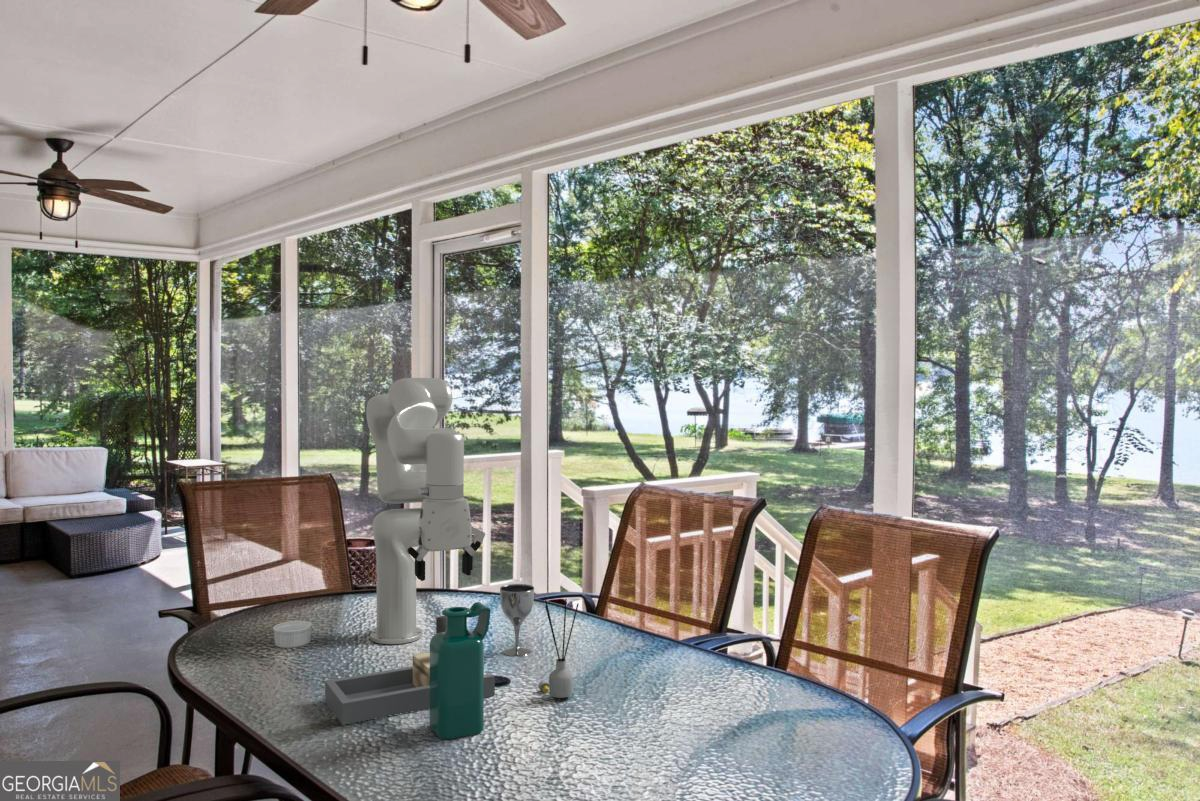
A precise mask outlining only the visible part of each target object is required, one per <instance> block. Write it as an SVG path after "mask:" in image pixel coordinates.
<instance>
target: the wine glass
mask: <svg viewBox="0 0 1200 801" xmlns="http://www.w3.org/2000/svg"><path fill="white" fill-rule="evenodd" d="M499 598H500V599H499V600H500V606H501V609H502V610H501V611H502V612H503V614H504V616H505V617H506V618H507V619H508V621H510V623H511V624H512V626H513V630H514V638H515V639H514V640H515V644H514V646H513V647H507V649H506V648H504V649H502V650H503V651H502V650H501V654H502V653H503V654H502V655H504V654H505V655H504V656H506V655H510V656H509V657H514V656H517V657H524V656H523V655H525V656H528V655H527V654H529V655H531V654H532V653H533V650H532V649H531V648H529V647H526V646H525V647H524V646H520V645H519V644H520V638H519V637H520V631H521V626H522V624H523V623H524V622H525V620H526V619H527V618H528V616H529V615H530V613H531V612H532V610H533V606H534V599H535V586H533V585H531V584H526V583H525V584H524V583H512V584H504V585H502V586H500V587H499ZM531 650H532V651H531ZM531 652H532V653H531ZM530 653H531V654H530Z"/></svg>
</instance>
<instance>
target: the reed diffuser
mask: <svg viewBox="0 0 1200 801" xmlns="http://www.w3.org/2000/svg"><path fill="white" fill-rule="evenodd" d="M567 601H568V600H567V598H565V600H564V617H563V634H562V636H563V637H562V639H563V640H562V654H561V656H562V658H560V655H559V649H558V645H557V641H556V636H555V633H554V631H555V630H554V629H553V628H554V627H553V623H552V619H551V615H550V614H551V613H550V610H549V607H548V606H549V605H548V601H547V597H546V596H544V602H545V606H544V608H545V610H546V615H547V618H548V623H549V627H550V632H551V635H552V637H553V638H552V639H553V642H554V646H555V650H556V654H557V659H556V660H555V661H556V662H555V663H556V665H555V667H556V668H555V669H554V670H552V671H551V672H550V674H549V675H548V680H542V681H541V682H539V684H538V689H539V691H541V692H542V693H543V694H547V693H549V696H551V697H553V698H558V699H559V698H561V699H562V698H568V697H570V696H572V695H573V683H574V681H573V680H574V679H573V678H574V677H573V674H572V672H571V671H570V670H569V669H567V668H566V667H567V666H566V665H567V664H566V661H567V660H566V655H567V652H568V647H569V644H570V641H571V635H572V631H573V628H574V624H575V620H576V616H577V613H578V608H579V603H577V604H576V607H575V612H574V616H573V620H572V624H571V628H570V631H569V636H568V639H567V644H566V647H565V639H566V638H565V635H566V621H567V620H566V617H567V616H566V615H567Z"/></svg>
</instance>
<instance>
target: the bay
mask: <svg viewBox="0 0 1200 801" xmlns="http://www.w3.org/2000/svg"><path fill="white" fill-rule="evenodd" d="M495 691H496V675H494V674H493V673H490V674H484V697H487V698H490V697H489V696H492V697H495V696H494V695H496V692H495ZM325 701H326V702H325ZM324 702H325V703H326V705H327V706H328V705H329V706H328V707H329V709H330V708H331V709H330V710H331V711H332V713H333V712H334V713H333V714H334V715H336V716H335V717H336V718H337V720H338V721H339V722H340V724H341V726H346V724H348V725H351V723H353V724H357V723H356V722H358V723H362V722H361V721H363V722H367V721H366V720H368V721H371V720H370V719H374V720H376V719H375V718H379V719H382V718H381V717H384V718H386V717H385V716H389V715H394V716H396V715H395V714H399V715H401V714H400V713H405V714H407V713H406V712H410V713H412V712H411V711H415V712H419V711H418V710H420V711H424V710H423V709H425V710H429V709H428V708H430V685H427V686H422V687H415V686H414V685H413V665H412V666H406V667H400V668H395V669H394V668H393V669H389V670H382V671H377V672H369V673H365V674H358V675H353V676H345V677H340V678H335V679H334V678H333V679H327V680H325V681H324ZM389 717H390V716H389Z"/></svg>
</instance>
